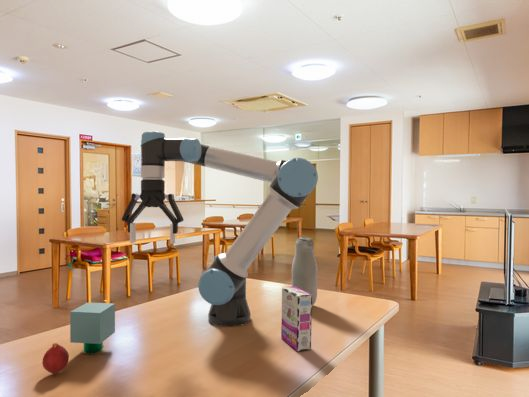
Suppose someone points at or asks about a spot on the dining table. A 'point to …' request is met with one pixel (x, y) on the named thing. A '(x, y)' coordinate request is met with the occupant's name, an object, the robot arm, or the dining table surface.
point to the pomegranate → (55, 359)
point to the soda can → (92, 348)
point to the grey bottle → (305, 267)
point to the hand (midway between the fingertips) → (152, 243)
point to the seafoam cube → (92, 323)
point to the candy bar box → (296, 318)
